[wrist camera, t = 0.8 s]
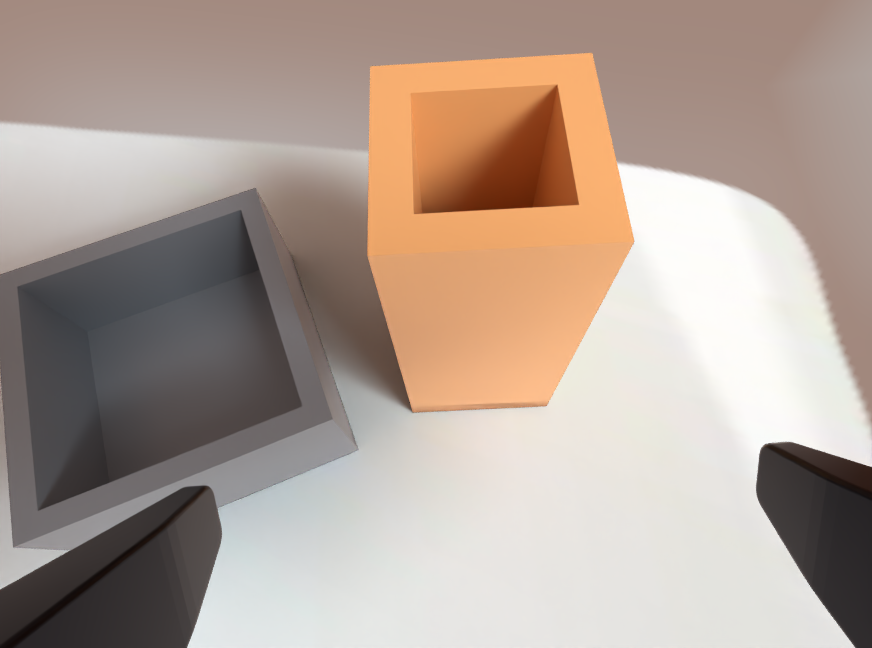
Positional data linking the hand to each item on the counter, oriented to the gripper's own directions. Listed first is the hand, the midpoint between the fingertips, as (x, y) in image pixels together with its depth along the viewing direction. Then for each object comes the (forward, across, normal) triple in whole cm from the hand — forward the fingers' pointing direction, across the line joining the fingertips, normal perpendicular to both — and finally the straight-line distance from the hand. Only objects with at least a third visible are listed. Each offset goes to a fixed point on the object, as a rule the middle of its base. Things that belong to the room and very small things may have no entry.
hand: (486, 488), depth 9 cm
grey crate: (+14, +11, +3) cm, 18 cm away
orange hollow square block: (+15, -1, +3) cm, 15 cm away
